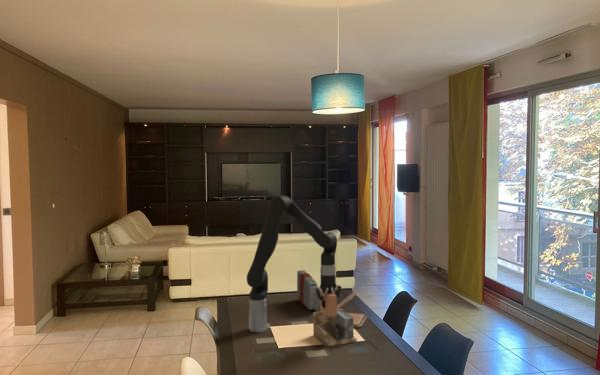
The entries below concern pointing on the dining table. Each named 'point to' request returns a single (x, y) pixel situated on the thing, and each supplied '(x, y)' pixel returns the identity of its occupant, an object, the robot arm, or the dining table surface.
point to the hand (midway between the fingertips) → (328, 306)
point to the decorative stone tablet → (307, 290)
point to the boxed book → (329, 304)
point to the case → (357, 318)
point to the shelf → (333, 328)
